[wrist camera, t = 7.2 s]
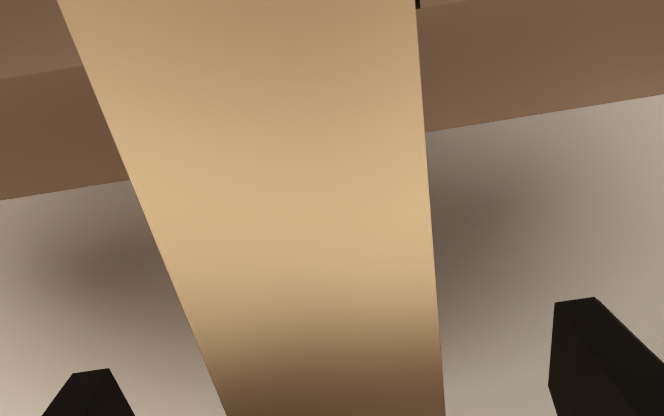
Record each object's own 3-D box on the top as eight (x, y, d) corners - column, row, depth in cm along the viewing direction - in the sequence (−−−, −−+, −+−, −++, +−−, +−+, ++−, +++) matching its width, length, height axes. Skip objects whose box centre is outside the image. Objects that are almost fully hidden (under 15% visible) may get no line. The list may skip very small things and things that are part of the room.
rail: (414, 390, 18) (460, 624, 13) (311, 405, 18) (319, 643, 13) (349, -170, 10) (407, -97, 5) (162, -136, 10) (43, -32, 5)
